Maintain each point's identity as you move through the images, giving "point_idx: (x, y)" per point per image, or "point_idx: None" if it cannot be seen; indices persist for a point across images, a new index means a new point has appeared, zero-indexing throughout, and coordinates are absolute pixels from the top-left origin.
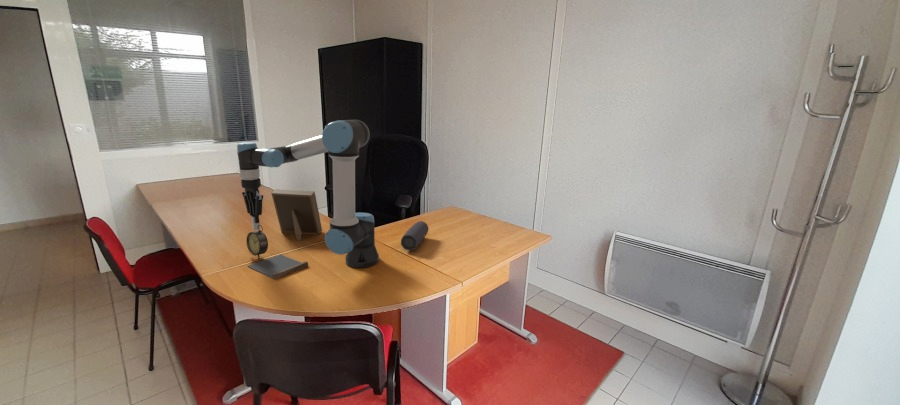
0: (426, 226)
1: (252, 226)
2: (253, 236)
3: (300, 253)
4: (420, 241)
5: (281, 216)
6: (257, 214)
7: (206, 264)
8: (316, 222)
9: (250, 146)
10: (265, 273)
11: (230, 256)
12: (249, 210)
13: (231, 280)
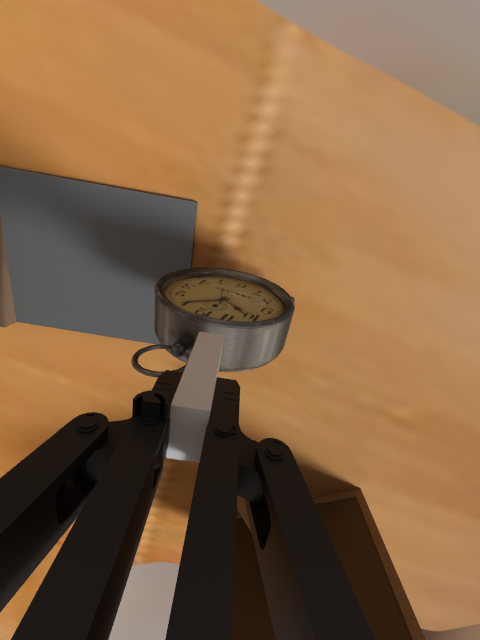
0: None
1: (218, 348)
2: (230, 317)
3: (134, 386)
4: None
5: (370, 562)
6: (66, 432)
7: (397, 122)
8: None
9: None
10: (56, 180)
11: (361, 247)
12: (232, 473)
13: (121, 44)
